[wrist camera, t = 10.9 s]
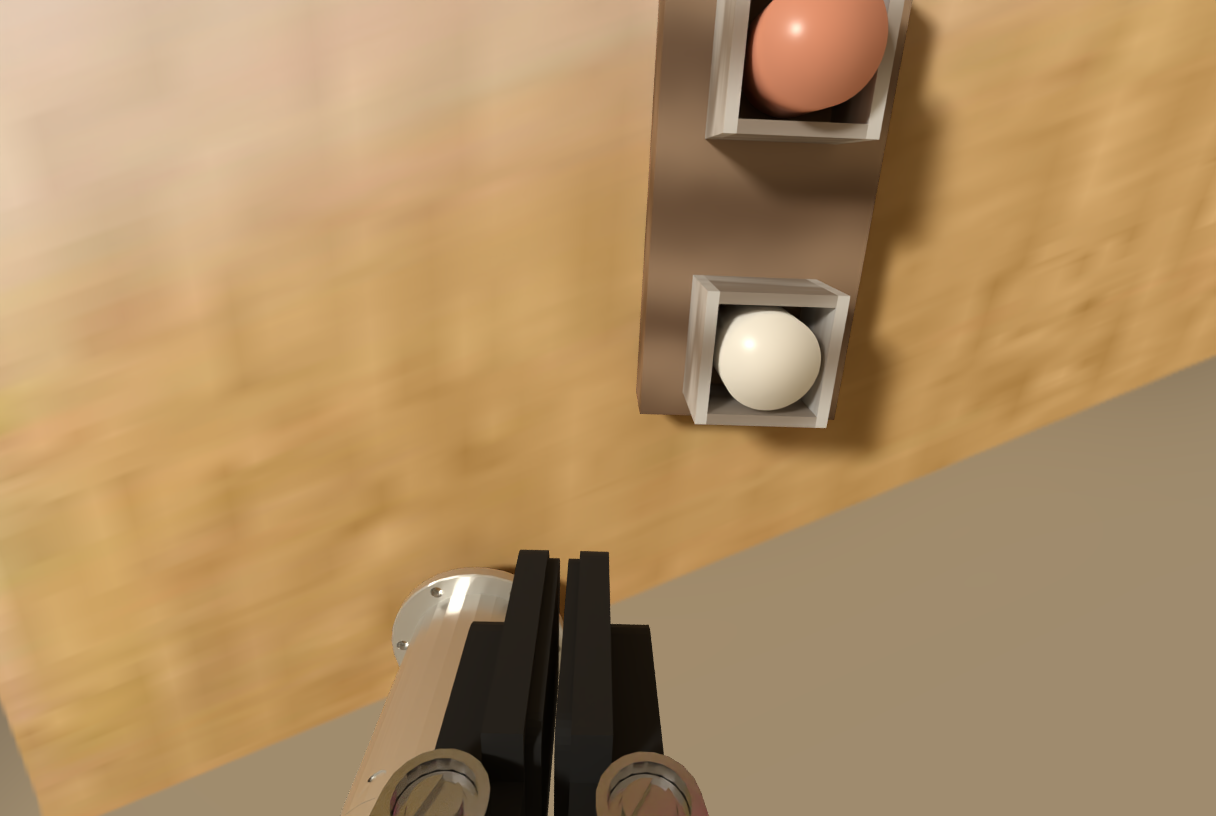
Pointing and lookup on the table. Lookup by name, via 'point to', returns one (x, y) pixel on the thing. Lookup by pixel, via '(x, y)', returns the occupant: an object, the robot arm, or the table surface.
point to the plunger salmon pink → (812, 54)
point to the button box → (751, 212)
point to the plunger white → (764, 355)
